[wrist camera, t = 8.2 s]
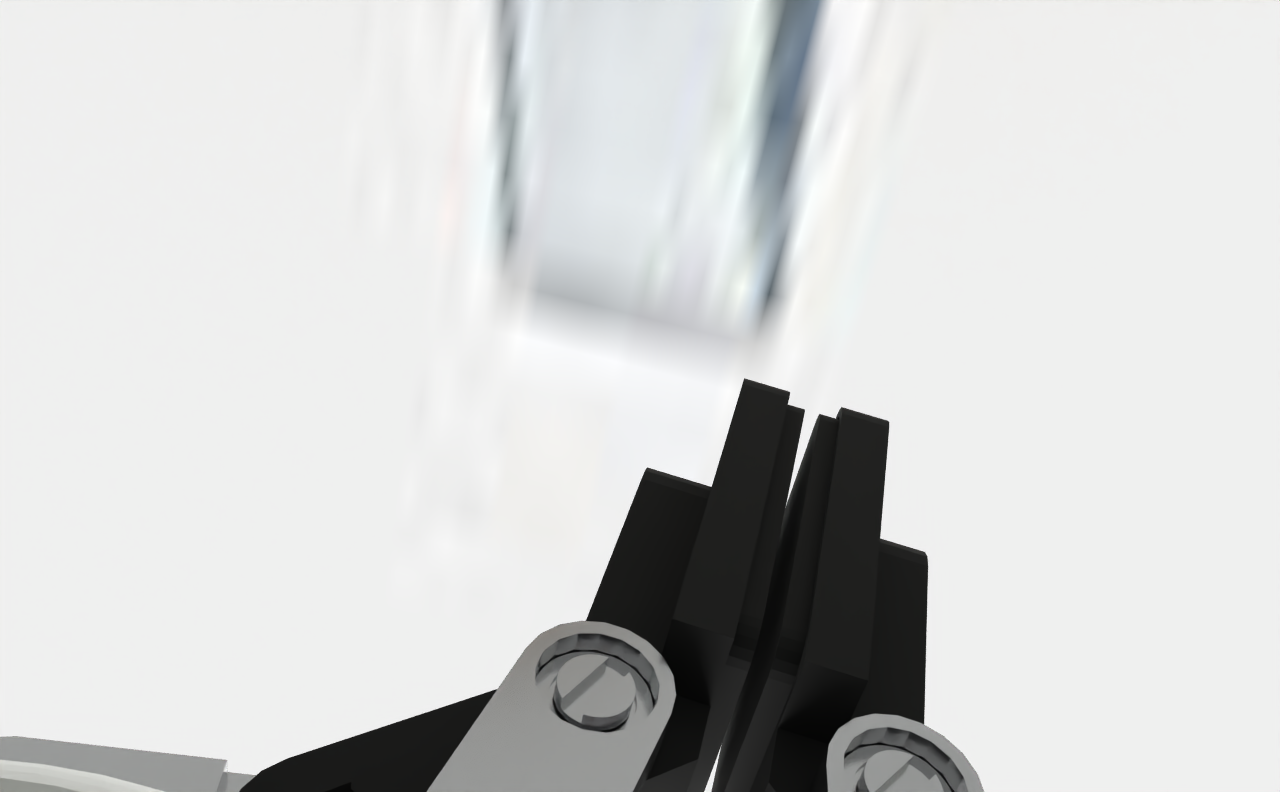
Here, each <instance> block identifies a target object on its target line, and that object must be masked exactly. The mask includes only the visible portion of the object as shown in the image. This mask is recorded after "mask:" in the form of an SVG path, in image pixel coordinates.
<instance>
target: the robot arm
mask: <svg viewBox="0 0 1280 792" xmlns="http://www.w3.org/2000/svg"><path fill="white" fill-rule="evenodd" d="M789 396H790V392H788V391H785V390H782V389H778V388H775V387H771V386H768V385H765V384H761V383H758V382H755V381H751V380H748V379H744V381H743V384H742V388H741V391H740V394H739V398H738V401H737V405H736V408H735V411H734V415H733V418H732V421H731V425H730V428H729V431H728V435H727V438H726V441H725V445H724V448H723V451H722V455H721V458H720V461H719V465H718V468H717V471H716V475H715V478H714V481H713V485H712V487H709V486H706V485H703V484H700V483H696V482H693V481H690V480H686V479H683V478H680V477H677V476H673V475H670V474H667V473H664V472H660V471H657V470H654V469H650V468H647V469H646V470H645V472H644V475H643V477H642V479H641V482H640V484H639V487H638V489H637V492H636V495H635V497H634V500H633V502H632V505H631V507H630V510H629V512H628V515H627V518H626V520H625V523H624V525H623V528H622V530H621V533H620V535H619V538H618V540H617V543H616V546H615V548H614V551H613V553H612V556H611V558H610V561H609V563H608V566H607V569H606V571H605V574H604V576H603V579H602V581H601V584H600V586H599V589H598V591H597V594H596V597H595V599H594V602H593V604H592V607H591V609H590V612H589V614H588V617H587V620H586V621H578V622H572V623H566V624H560V625H558V626H556V627H554V628H551V629H549V630H547V631H545V632H543V633H541V634H540V635H539V636H538V637H537V638H536V639H535V640H534V641H533V642H532V643H531V644H530V645H529V646H528V647H527V648H526V649H525V650H524V652H523V653H522V655H521V656H520V658H519V659H518V660H517V662H516V663H515V665H514V666H513V668H512V669H511V671H510V672H509V673H508V675H507V676H506V678H505V679H504V681H503V682H502V684H501V685H500V686H499V688H498V689H496V690H493V691H490V692H487V693H484V694H481V695H478V696H475V697H472V698H469V699H466V700H463V701H460V702H457V703H454V704H451V705H448V706H445V707H442V708H439V709H436V710H433V711H430V712H427V713H424V714H421V715H418V716H415V717H412V718H408V719H405V720H402V721H399V722H396V723H393V724H390V725H387V726H384V727H381V728H378V729H375V730H372V731H369V732H366V733H363V734H360V735H357V736H354V737H351V738H348V739H345V740H342V741H339V742H336V743H333V744H330V745H327V746H324V747H321V748H318V749H315V750H312V751H309V752H306V753H303V754H300V755H297V756H294V757H291V758H288V759H285V760H283V761H281V762H279V763H277V764H275V765H273V766H271V767H269V768H267V769H264V770H262V771H261V772H260V773H259V774H257V775H249V774H240V773H231V772H227V760H222V759H213V758H205V757H196V756H187V755H178V754H169V753H160V752H151V751H142V750H133V749H125V748H116V747H107V746H98V745H89V744H80V743H71V742H62V741H54V740H45V739H36V738H27V737H18V736H11V737H0V792H704V791H705V788H706V785H707V782H708V780H709V777H710V774H711V771H712V769H713V766H714V763H715V761H716V758H717V755H718V752H719V750H720V747H721V750H720V755H719V759H718V764H717V769H716V773H715V778H714V783H713V787H712V792H984V790H983V787H982V785H981V782H980V779H979V777H978V774H977V773H976V771H975V770H974V768H973V767H972V765H971V764H970V763H969V761H968V760H967V758H966V757H965V756H964V754H963V753H962V752H961V751H960V750H959V749H957V748H956V747H955V746H954V745H953V744H952V743H951V742H950V741H949V740H947V739H946V738H945V737H944V736H943V735H941V734H939V733H937V732H936V731H934V730H932V729H931V728H929V727H927V726H925V725H924V707H925V667H926V626H927V586H928V559H927V555H926V553H925V552H923V551H919V550H916V549H913V548H910V547H906V546H903V545H900V544H896V543H893V542H890V541H887V540H883V539H880V532H881V520H882V508H883V496H884V483H885V471H886V459H887V447H888V435H889V422H888V421H886V420H883V419H880V418H876V417H873V416H870V415H866V414H863V413H859V412H856V411H853V410H849V409H846V408H843V407H841V409H840V410H839V412H838V414H837V417H836V419H835V418H831V417H828V416H825V415H821V414H819V416H818V418H817V420H816V423H815V426H814V428H813V431H812V434H811V437H810V440H809V443H808V445H807V448H806V451H805V454H804V457H803V460H802V462H801V465H800V468H799V471H798V474H797V477H796V480H795V482H794V485H793V488H792V491H791V494H790V497H789V499H788V502H787V497H788V492H789V487H790V482H791V477H792V472H793V467H794V462H795V457H796V453H797V448H798V443H799V438H800V433H801V428H802V423H803V418H804V413H805V410H804V409H801V408H798V407H794V406H791V405H788V400H789ZM786 502H787V505H786ZM785 507H786V508H785ZM721 744H722V746H721Z"/></svg>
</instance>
